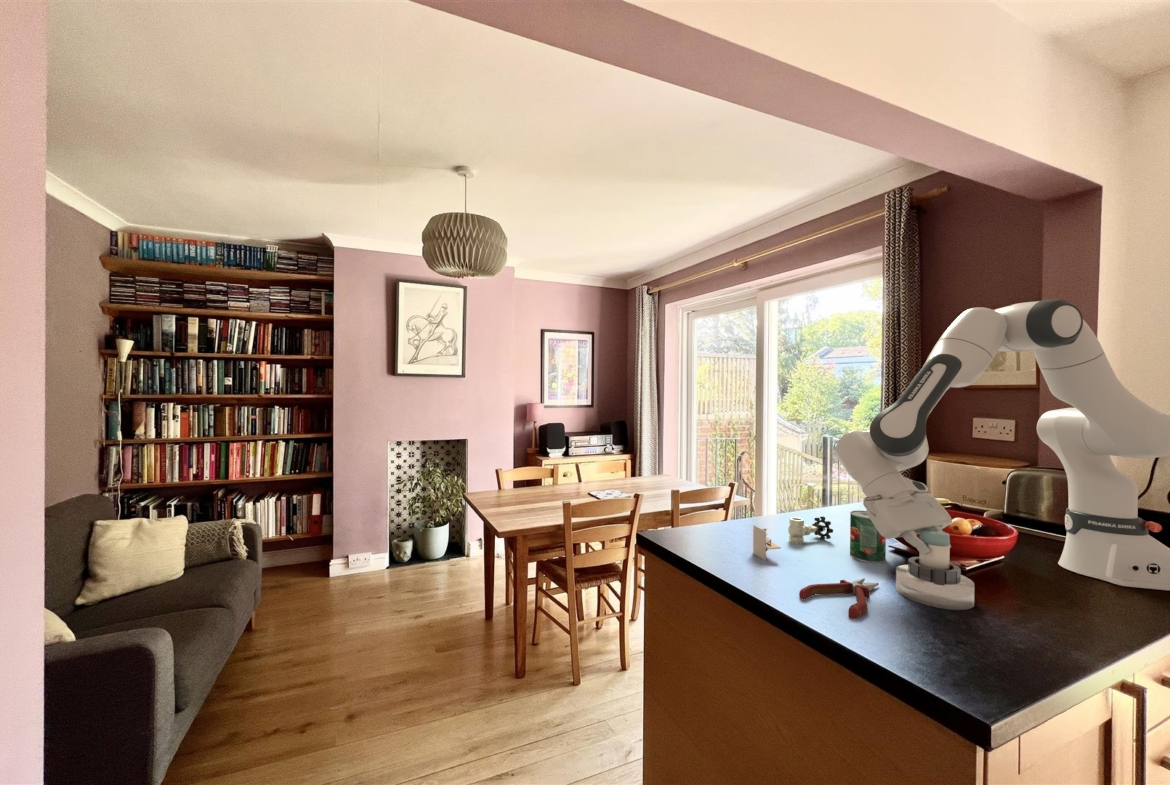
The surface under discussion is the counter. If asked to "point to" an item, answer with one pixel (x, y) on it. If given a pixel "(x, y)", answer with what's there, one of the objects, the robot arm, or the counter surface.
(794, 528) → the valve
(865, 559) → the canned tomato
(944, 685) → the counter surface
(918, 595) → the ringed white base
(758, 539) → the architectural model
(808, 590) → the pliers
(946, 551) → the jar with teal lid
